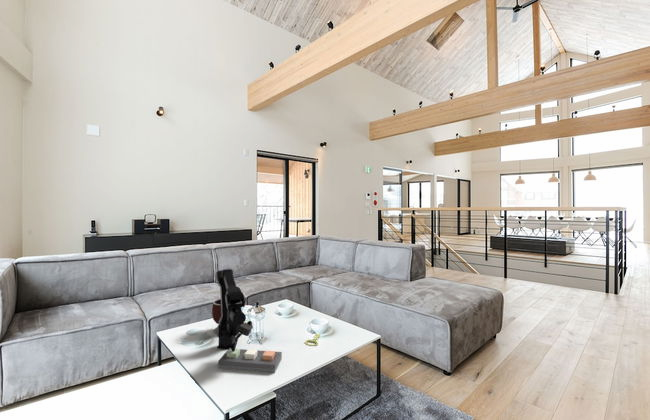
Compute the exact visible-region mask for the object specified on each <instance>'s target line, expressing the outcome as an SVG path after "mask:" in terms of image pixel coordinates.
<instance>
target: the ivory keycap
mask: <svg viewBox="0 0 650 420" xmlns="http://www.w3.org/2000/svg"><path fill="white" fill-rule="evenodd" d="M246 350H247V351H246V353H245V358H244V359H255V358H256V357H257V355H258V350H259V349H252V348H251V349H250V348H249V349H246Z"/></svg>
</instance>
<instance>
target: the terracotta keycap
mask: <svg viewBox="0 0 650 420" xmlns="http://www.w3.org/2000/svg"><path fill="white" fill-rule="evenodd" d="M264 351H265V352H264V354H263V360H269V361H273V359H274V358H275V352H276V351H275V350H264Z"/></svg>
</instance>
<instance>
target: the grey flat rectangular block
mask: <svg viewBox="0 0 650 420" xmlns="http://www.w3.org/2000/svg"><path fill="white" fill-rule="evenodd" d="M230 349H231V348H229V349H227V350H226V351H225V353H224V354H223V355H222V356H221V357H220V358H219V359H218V365H217V366H218V367H217V368H218V369H221V370H235V371H248V372H249V371H250V372H259V373H261V372H262V373H274V374H275V373H276V371H277V369H278V367H279V365H280V363H281V362H282V357H283V354H282V353H283V352H282V351H275V358H274V359H273V361H269V360H263V354H264V352H265V351H266V350H259V349H257V350H258V355H257V357H256V358H255V359H244V358H245V353H246V351H247V350H248V349H246V348H245V349H241V348H239V349H240V355H239V356H238V357H237V358H227V352H228V351H229V350H230Z"/></svg>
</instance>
